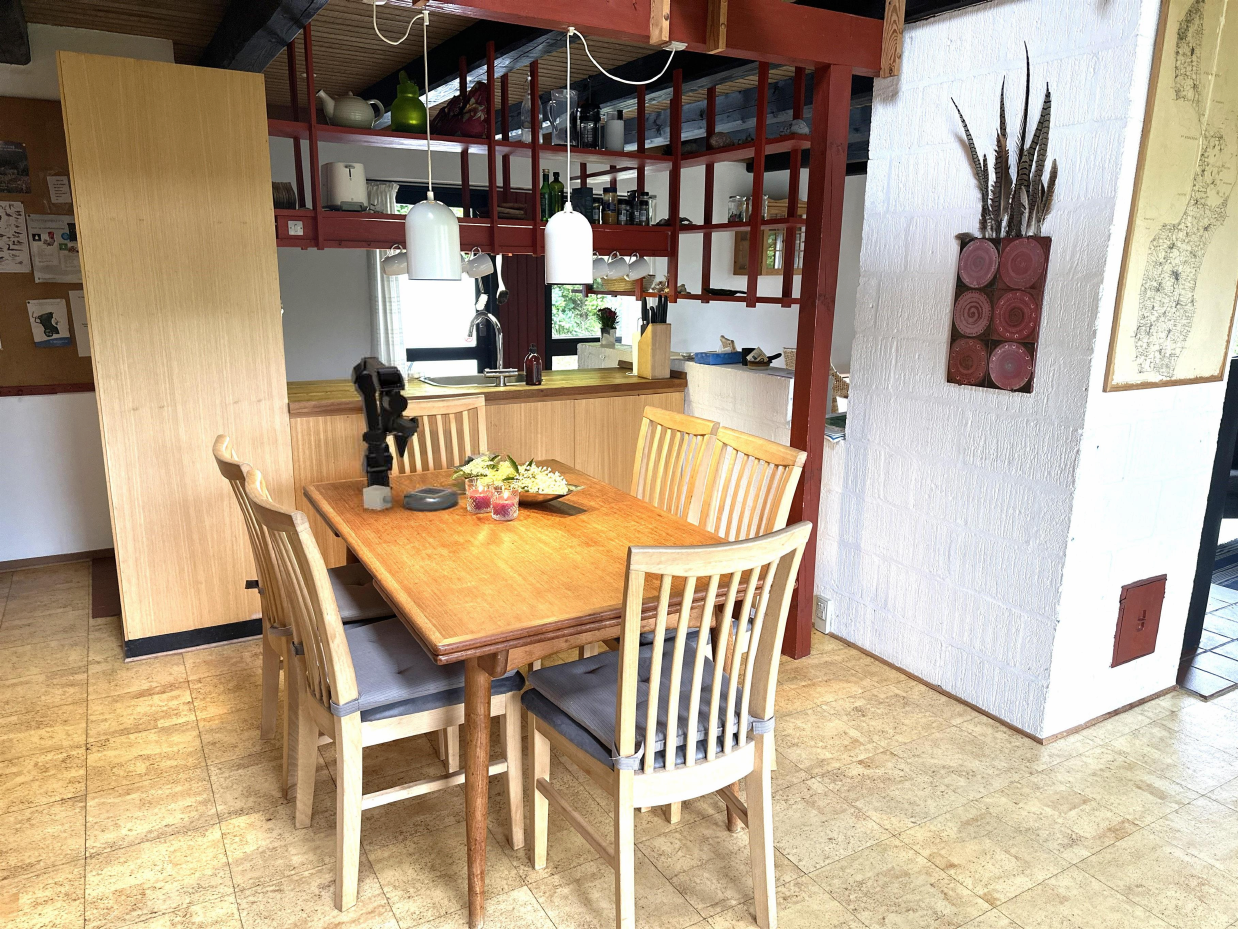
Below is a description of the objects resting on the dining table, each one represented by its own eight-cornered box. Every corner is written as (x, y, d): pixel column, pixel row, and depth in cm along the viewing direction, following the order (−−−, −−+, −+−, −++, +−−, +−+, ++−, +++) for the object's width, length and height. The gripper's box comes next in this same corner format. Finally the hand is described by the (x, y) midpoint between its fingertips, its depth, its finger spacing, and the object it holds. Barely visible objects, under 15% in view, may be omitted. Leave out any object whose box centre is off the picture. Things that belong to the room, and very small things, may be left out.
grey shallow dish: (392, 507, 253) (392, 494, 252) (427, 494, 267) (426, 482, 266) (436, 514, 246) (435, 500, 245) (469, 501, 260) (468, 488, 259)
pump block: (364, 508, 252) (362, 489, 250) (375, 504, 256) (374, 485, 255) (385, 511, 248) (384, 492, 247) (396, 507, 253) (395, 488, 251)
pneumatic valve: (464, 489, 273) (463, 453, 271) (498, 485, 279) (497, 449, 276) (469, 493, 269) (468, 456, 266) (504, 489, 274) (503, 452, 271)
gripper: (390, 415, 239) (393, 469, 243) (430, 406, 256) (432, 456, 259) (359, 413, 244) (362, 466, 247) (400, 404, 260) (403, 453, 264)
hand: (392, 460), depth 254 cm, fingers open, 9 cm apart
